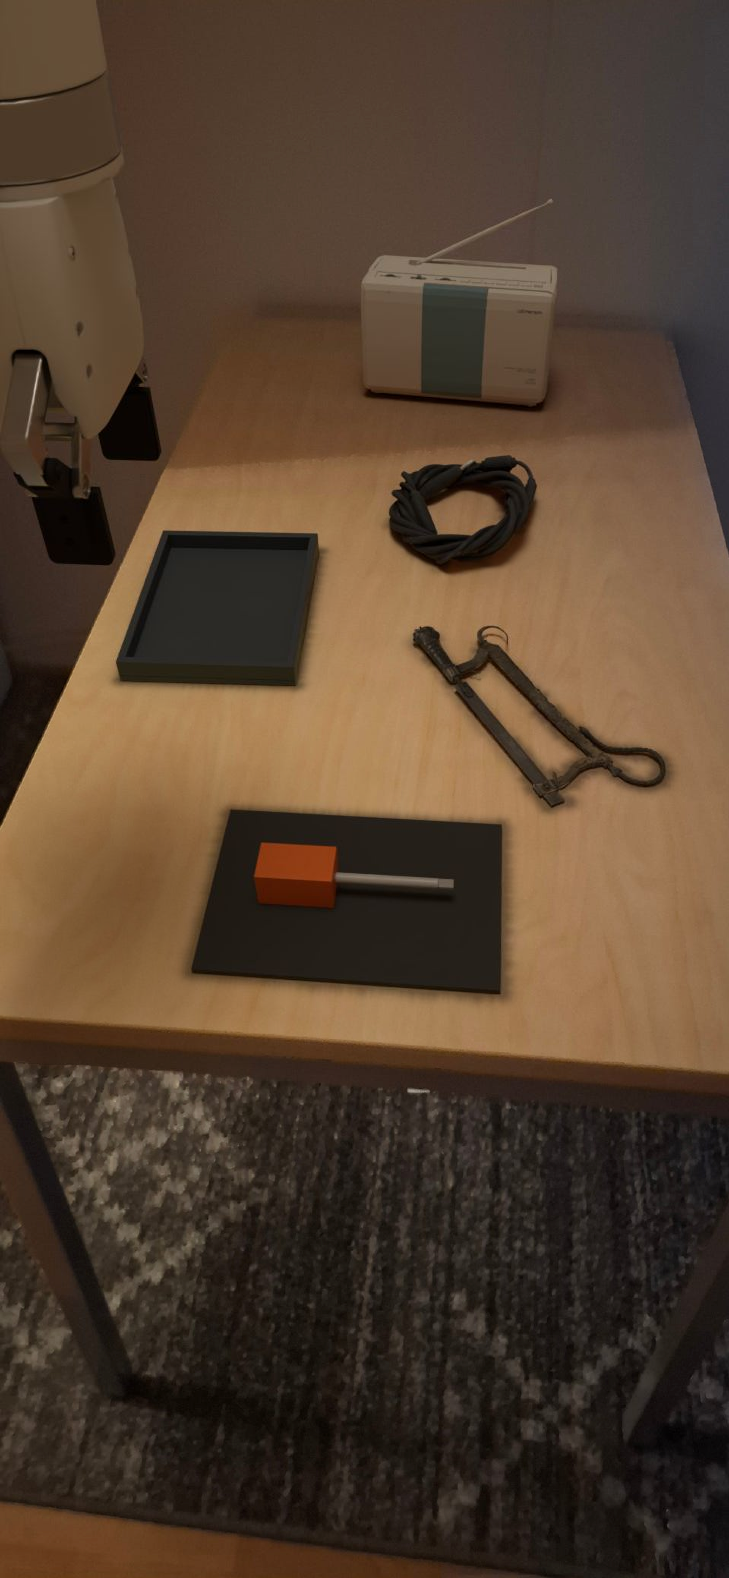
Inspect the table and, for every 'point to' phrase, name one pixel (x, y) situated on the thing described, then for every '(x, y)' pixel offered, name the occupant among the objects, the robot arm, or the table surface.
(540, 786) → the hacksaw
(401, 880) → the screwdriver
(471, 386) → the radio
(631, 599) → the table surface
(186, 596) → the tray
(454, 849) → the mat
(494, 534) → the cable
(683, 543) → the table surface
